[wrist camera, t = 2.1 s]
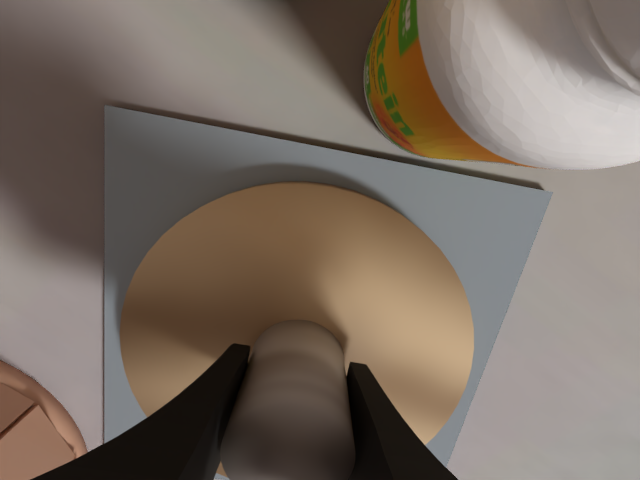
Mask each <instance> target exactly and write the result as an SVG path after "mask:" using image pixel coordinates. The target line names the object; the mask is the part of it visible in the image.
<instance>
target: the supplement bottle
mask: <svg viewBox="0 0 640 480" xmlns="http://www.w3.org/2000/svg"><path fill="white" fill-rule="evenodd" d="M364 92H365V98H366V102H367V105H368V109H369V111H370V114H371V116H372V118H373V120H374V122H375V123H376V125H377V127H378V128H379V129H380V131H381V132H382V133H383V134H384V135H385V136H386V137H387V138H388V139H389V140H390V141H391V142H392V143H393V144H395V145H396V146H397V147H399V148H401V149H402V150H405V151H407V152H409V153H412V154H414V155H418V156H422V157H428V158H436V159H449V160H460V161H471V162H483V163H494V164H505V165H515V166H525V167H533V168H544V169H562V170H586V169H602V168H608V167H614V166H620V165H625V164H629V163H633V162H637V161H640V0H389V2H388V4H387V6H386V9H385V11H384V13H383V15H382V17H381V18H380V20H379V22H378V24H377V27H376V29H375V31H374V33H373V36H372V38H371V41H370V44H369V47H368V50H367V54H366V59H365V65H364Z"/></svg>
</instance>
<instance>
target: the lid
mask: <svg viewBox="0 0 640 480" xmlns="http://www.w3.org/2000/svg"><path fill="white" fill-rule="evenodd" d="M233 343H236V344H242V345H249V346H250V352H249V359H248V365H247V368H246V371H245V374H244V377H243V380H242V383H241V385H240V388H239V391H238V394H237V397H236V400H235V403H234V406H233V410H232V413H231V416H230V419H229V422H228V425H227V428H226V431H225V434H224V437H223V440H222V443H221V449H220V456H221V461H220V464H219V466H218V469H217V472H216V473H217V474H220V475H222V476H225V477H227V478H229V479H230V480H348V479H349V477H350V475H351V473H352V471H353V468H354V464H355V455H356V453H355V444H354V436H353V428H352V419H351V411H350V403H349V395H348V386H347V378H346V376H347V372H348V368H349V364H350V362H355V363H362V364H367V366H368V367H369V369H370V370H371V372H372V374H373V375H374V377H375V378H376V380H377V381H378V383H379V384H380V386H381V387H382V389H383V391H384V392H385V394H386V395H387V397H388V398H389V399H390V401H391V402H392V404H393V405H394V407H395V408H396V409H397V411H398V412H399V414H400V415H401V416H402V418H403V419H404V420H405V421H406V423H407V424H408V425H409V427H410V428H411V429H412V430H413V432H414V433H415V434H416V435H417V437H418V438H419V439H420V440H421V441H422V442H423V444H424V445H426V444H427V443H428V442H429V441H430V440H431V439H432V438H433V437H435V435H436V434H437V433H438V432H439V431H440V429H441V428H442V427H443V426H444V425H445V423H446V422H447V421H448V419H449V418H450V416H451V415H452V413H453V411H454V410H455V408H456V407H457V405H458V403H459V401H460V399H461V397H462V394H463V392H464V390H465V388H466V385H467V381H468V378H469V375H470V371H471V367H472V360H473V353H474V327H473V321H472V315H471V308H470V305H469V302H468V299H467V296H466V293H465V290H464V287H463V285H462V283H461V281H460V279H459V277H458V275H457V273H456V272H455V270H454V268H453V266H452V265H451V263H450V262H449V261H448V259H447V258H446V256H445V255H444V254H443V252H442V251H441V249H440V248H439V247H438V246H437V245H436V244H435V243H434V242H433V241H432V240H431V239H430V238H429V237H428V236H427V235H426V234H425V233H424V232H423V231H422V230H421V229H419V228H418V227H417V226H416V225H414V224H413V223H412V222H410V221H409V220H408V219H407V218H405V217H404V216H403V215H401V214H400V213H399V212H398V211H396V210H394V209H392V208H391V207H389V206H387V205H386V204H384V203H382V202H380V201H379V200H377V199H374V198H372V197H370V196H367V195H365V194H362V193H360V192H357V191H355V190H351V189H347V188H344V187H340V186H336V185H332V184H325V183H317V182H309V181H281V182H275V183H268V184H261V185H255V186H252V187H249V188H245V189H242V190H238V191H235V192H232V193H230V194H228V195H225V196H223V197H221V198H218V199H216V200H214V201H212V202H210V203H208V204H206V205H204V206H202V207H200V208H198V209H197V210H195V211H194V212H192V213H190V214H189V215H187V216H186V217H184V218H182V219H181V220H180V221H179V222H177V223H176V224H175V225H174V226H173V227H172V228H170V229H169V230H168V231H167V232H166V233H164V234H163V235H162V236H161V238H160V239H159V240H158V241H157V242H156V243H155V244H154V246H153V247H152V248H151V249H150V250H149V251H148V252H147V254H146V256H145V257H144V259H143V260H142V262H141V263H140V265H139V267H138V268H137V270H136V271H135V274H134V276H133V278H132V280H131V283H130V285H129V287H128V290H127V292H126V296H125V300H124V304H123V308H122V312H121V322H120V349H121V357H122V361H123V366H124V371H125V374H126V377H127V380H128V382H129V385H130V388H131V390H132V392H133V394H134V396H135V398H136V400H137V402H138V404H139V406H140V407H141V409H142V411H143V412H144V413H145V415H146V416H147V417H148V416H150V415H151V414H153V413H154V412H156V411H157V410H158V409H160V408H161V407H163V406H164V405H165V404H167V403H168V402H169V401H171V400H172V399H173V398H174V397H176V396H177V395H178V394H179V393H181V392H182V391H183V390H184V389H185V388H187V387H188V386H189V385H190V384H191V383H193V382H194V381H195V380H196V379H197V378H198V377H199V376H200V375H201V374H203V373H204V372H205V371H206V370H207V369H208V368H209V367H210V366H211V365H212V364H213V363H214V362H215V361H216V360H217V359H218V358H219V357H220V356H221V355H222V354H223V353H224V352H225V351H226V349H227V348H228V347H229V346H230V345H231V344H233Z"/></svg>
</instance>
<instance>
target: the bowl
mask: <svg viewBox="0 0 640 480" xmlns="http://www.w3.org/2000/svg"><path fill="white" fill-rule="evenodd" d="M86 453H88V452H87V448H86V445H85V442H84V439H83V437H82V435H81V433H80V430H79V428H78V427H77V425H76V424H75V422H74V420H73V419H72V417H71V416H70V414H69V413H68V412H67V411H66V409H65V408H64V407H63V406H62V404H61V403H60V402H59V401H58V400H57V399H56V398H55V397H54V396H53V395H52V394H51V393H50V392H49V391H47V390H46V389H45V388H44V387H42V386H41V385H40V384H39V383H37V382H36V381H35V380H34V379H32V378H30V377H29V376H27V375H26V374H24V373H23V372H21V371H20V370H18V369H16V368H14V367H12V366H11V365H9V364H7V363H5V362H3V361H1V360H0V480H30V479H33V478H35V477H37V476H39V475H42V474H44V473H46V472H48V471H50V470H53V469H55V468H57V467H59V466H62V465H64V464H66V463H68V462H70V461H72V460H74V459H76V458H78V457H80V456H82V455H84V454H86Z"/></svg>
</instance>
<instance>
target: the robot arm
mask: <svg viewBox="0 0 640 480" xmlns="http://www.w3.org/2000/svg"><path fill="white" fill-rule="evenodd" d="M249 352H250V346H249V345H242V344H236V343H233V344H231V345H230V346H229V347H228V348H227V349H226V351H225V352H224V353H223V354H222V355H221V356H220V357H219V358H218V359H217V360H216V361H215V362H214V363H213V364H212V365H211V366H210V367H209V368H208V369H207V370H206V371H205V372H204V373H203V374H201V375H200V376H199V377H198V378H197V379H196V380H195V381H194V382H193V383H191V384H190V385H189V386H188V387H187V388H185V389H184V390H183V391H182V392H181V393H179V394H178V395H177V396H176V397H174V398H173V399H172V400H171V401H169V402H168V403H167V404H165V405H164V406H163V407H161V408H160V409H158V410H157V411H156V412H154V413H153V414H151V415H150V416H148V417H147V418H145V419H144V420H142V421H141V422H139V423H138V424H136V425H135V426H133V427H131V428H130V429H128V430H127V431H125V432H124V433H122V434H120V435H119V436H117V437H115V438H113V439H112V440H110V441H108V442H106V443H104V444H103V445H101V446H99V447H97V448H95V449H93V450H91V451H90V452H88V453H86V454H84V455H82V456H80V457H78V458H76V459H74V460H72V461H70V462H68V463H66V464H64V465H62V466H59V467H57V468H55V469H53V470H50V471H48V472H46V473H44V474H42V475H39V476H37V477H35V478H33V479H30V480H213V479H214V477H215V474H216V472H217V469H218V466H219V464H220V461H221V456H220V449H221V443H222V440H223V437H224V434H225V431H226V428H227V425H228V422H229V419H230V416H231V413H232V410H233V406H234V403H235V400H236V397H237V394H238V391H239V388H240V385H241V383H242V380H243V377H244V374H245V371H246V368H247V365H248V359H249ZM346 378H347V386H348V395H349V403H350V411H351V419H352V428H353V436H354V444H355V453H356V455H355V464H354V468H353V471H352V473H351V475H350V477H349V479H348V480H458V479H457V478H456V477H455V476H454V475H453V474H452V473H451V472H450V471H449V470H448V469H447V468H446V467H445V466H444V465H443V464H442V463H441V462H440V461H439V460H438V459H437V458H436V457H435V456H434V455H433V453H432V452H431V451H430V450H429V449H428V448H427V447H426V446H425V445H424V444H423V442H422V441H421V440H420V439H419V438H418V437H417V435H416V434H415V433H414V432H413V430H412V429H411V428H410V427H409V425H408V424H407V423H406V421H405V420H404V419H403V418H402V416H401V415H400V414H399V412H398V411H397V409H396V408H395V407H394V405H393V404H392V402H391V401H390V399H389V398H388V397H387V395H386V394H385V392H384V391H383V389H382V387H381V386H380V384H379V383H378V381H377V380H376V378H375V377H374V375H373V374H372V372H371V370H370V369H369V367H368V366H367V364H362V363H355V362H350V364H349V368H348V372H347V376H346Z"/></svg>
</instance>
